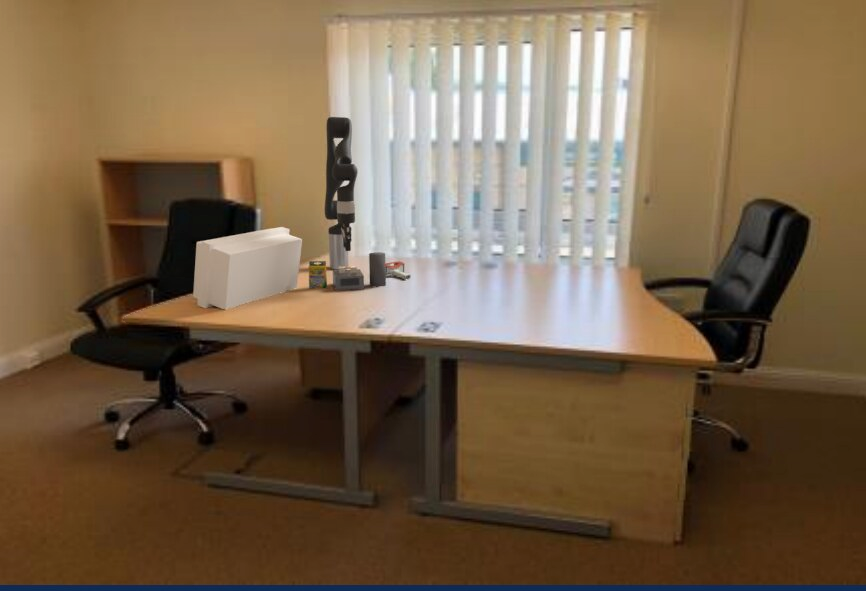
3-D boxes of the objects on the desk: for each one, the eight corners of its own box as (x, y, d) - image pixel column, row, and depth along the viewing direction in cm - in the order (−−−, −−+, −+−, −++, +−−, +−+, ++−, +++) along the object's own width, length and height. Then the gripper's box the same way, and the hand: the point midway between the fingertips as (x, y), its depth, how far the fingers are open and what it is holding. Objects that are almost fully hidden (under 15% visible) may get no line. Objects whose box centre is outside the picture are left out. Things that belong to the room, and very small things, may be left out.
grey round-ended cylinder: (368, 283, 305) (368, 252, 301) (384, 282, 306) (383, 252, 303) (371, 287, 298) (370, 255, 295) (386, 286, 300) (386, 254, 296)
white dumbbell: (338, 272, 297) (338, 266, 296) (356, 271, 299) (356, 265, 298) (339, 273, 296) (339, 268, 295) (356, 272, 298) (356, 267, 297)
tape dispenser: (409, 284, 312) (416, 272, 331) (409, 273, 310) (416, 262, 329) (371, 281, 314) (380, 270, 333) (371, 270, 312) (380, 259, 331)
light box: (268, 280, 305) (274, 224, 297) (298, 291, 298) (305, 234, 290) (189, 301, 267) (193, 238, 258) (221, 315, 260) (226, 250, 251)
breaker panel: (333, 283, 305) (332, 270, 303) (360, 282, 307) (359, 269, 306) (335, 290, 291) (335, 277, 290) (364, 289, 294) (363, 275, 292)
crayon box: (309, 289, 295) (308, 262, 292) (310, 287, 298) (308, 261, 295) (326, 288, 295) (325, 262, 292) (327, 287, 298) (326, 260, 295)
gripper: (335, 209, 297) (336, 246, 301) (338, 213, 284) (339, 252, 288) (352, 209, 299) (353, 246, 303) (356, 213, 286) (357, 251, 290)
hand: (347, 249), depth 295 cm, fingers open, 8 cm apart
